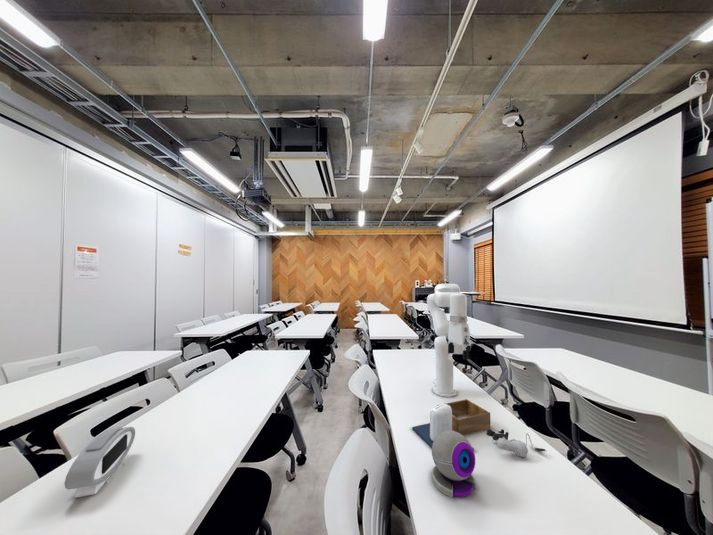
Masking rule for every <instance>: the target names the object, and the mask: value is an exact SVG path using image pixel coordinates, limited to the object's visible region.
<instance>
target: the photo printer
mask: <svg viewBox="0 0 713 535" xmlns="http://www.w3.org/2000/svg"><path fill="white" fill-rule="evenodd" d="M437 405H438V406H437ZM437 405H436V406H434V407H433V408H432V409H431V410H430V412H429V423H430V438H431V439H432V440H433V441H434V439H435V438H436V436H437V435H438V434H440V433H441V432H443V431H448V430H450V431H452V409H451V407H450V406H449V405H447V404H446V403H442V404H441V403H440V404H437Z"/></svg>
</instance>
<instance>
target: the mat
mask: <svg viewBox="0 0 713 535" xmlns="http://www.w3.org/2000/svg"><path fill="white" fill-rule="evenodd" d="M411 430H412V431H414V433H415V434H416V435H418V437H419V438H420V439H421V440H422V441H424V443H426V444H427V446H428V447H430V448H431V449H432V445H433V440H432V439H431V438H430V422H429V423H424V424H420V425H419V424H418V425H416V426H412V429H411ZM472 448H473V451H474V452H475V448H474V447H473V446H472Z"/></svg>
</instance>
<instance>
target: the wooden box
mask: <svg viewBox="0 0 713 535" xmlns="http://www.w3.org/2000/svg"><path fill="white" fill-rule="evenodd" d="M445 404H447V405H449V406H450V407H451V409H452V431H455V432H458V433H460V434H462V435H463V436H465V435H468V434H474V433H478V432H481V431H485V430H487V429H491V411H488V410H486V409H484V408H482V407H481V406H479V405H477V404H475V403H474V402H473V401H471V400H469V399H461V400H456V401H450V402H445ZM438 405H439V404H437V405H436V406H438ZM464 415H468V416H465V417H461V418H459V417H460V416H464Z"/></svg>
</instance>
